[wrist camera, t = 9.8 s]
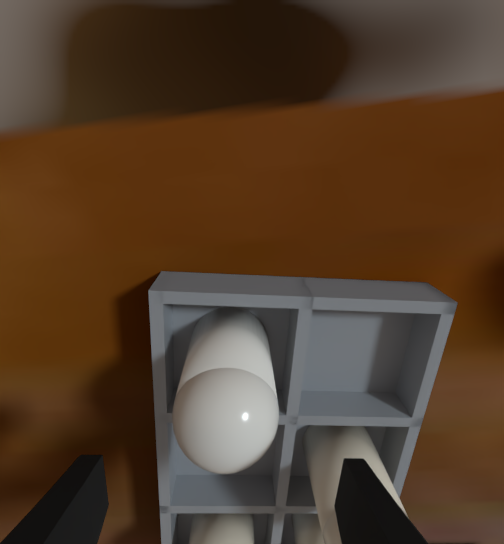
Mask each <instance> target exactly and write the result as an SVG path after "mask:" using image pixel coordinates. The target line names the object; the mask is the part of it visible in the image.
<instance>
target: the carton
mask: <svg viewBox="0 0 504 544" xmlns="http://www.w3.org/2000/svg"><path fill="white" fill-rule="evenodd" d="M148 294H149V313H150V333H151V352H152V371H153V390H154V410H155V429H156V448H157V467H158V487H159V506H160V525H161V544H189V539H190V531H191V524H192V516H193V513H253V524H254V544H295V539H294V532H293V525H292V518H291V516H292V514H318V513H317V508H316V504H315V499H314V495H313V490H312V486H311V481H310V477H309V472H308V468H307V463H306V459H305V454H304V450H303V444H302V440H303V436H304V433H305V431H306V430H307V428H308V427H309V426H310V425H331V426H365V427H366V429H367V431H368V433H369V435H370V438H371V440H372V442H373V444H374V446H375V448H376V450H377V452H378V455H379V457H380V459H381V461H382V463H383V465H384V467H385V469H386V471H387V474H388V476H389V478H390V480H391V482H392V484H393V486H394V488H395V491H396V493H397V495H398V497H399V498H400V494H401V491H402V488H403V484H404V481H405V477H406V474H407V471H408V467H409V464H410V461H411V457H412V454H413V451H414V447H415V444H416V441H417V437H418V434H419V431H420V427H421V424H422V421H423V417H424V414H425V411H426V407H427V404H428V400H429V397H430V394H431V390H432V387H433V384H434V380H435V377H436V374H437V370H438V367H439V364H440V360H441V357H442V354H443V350H444V347H445V344H446V340H447V337H448V334H449V330H450V327H451V323H452V320H453V317H454V313H455V310H456V307H457V302H456V301H454V300H453V299H451V298H450V297H448V296H447V295H445V294H444V293H442V292H441V291H439V290H438V289H436V288H434V287H433V286H431V285H430V284H428V283H423V282H400V281H377V280H353V279H330V278H307V277H283V276H260V275H237V274H213V273H190V272H167V271H161V273H160V274H159V276H158V277H157V279H156V280H155V282H154V283H153V284H152V286H151V287H150V289H149V290H148ZM223 307H237V308H241V309H244V310H247V311H249V312H251V313H252V314H254V315H255V316H256V317H258V318H259V319H260V321H261V322H262V323H263V325H264V327H265V329H266V332H267V336H268V342H269V349H270V355H271V361H272V368H273V374H274V380H275V387H276V393H277V399H278V406H279V422H278V428H277V432H276V435H275V438H274V440H273V442H272V444H271V446H270V448H269V449H268V450H267V452H266V453H265V454H264V456H263V457H262V458H261V459H260V460H258V461H257V462H256V463H255V464H253V465H252V466H250V467H249V468H247V469H245V470H242V471H239V472H236V473H232V474H216V473H212V472H208V471H206V470H203V469H201V468H199V467H198V466H196V465H195V464H194V463H192V462H191V461H190V460H189V459H188V458H187V457H186V456H185V454H184V453H183V451H182V450H181V448H180V447H179V445H178V443H177V440H176V438H175V434H174V430H173V423H172V412H173V405H174V401H175V397H176V393H177V390H178V386H179V382H180V378H181V375H182V371H183V367H184V364H185V360H186V356H187V352H188V349H189V345H190V341H191V338H192V334H193V331H194V328H195V326H196V324H197V323H198V321H199V320H200V319H201V318H202V317H203V316H204V315H206V314H207V313H209V312H211V311H213V310H215V309H219V308H223Z"/></svg>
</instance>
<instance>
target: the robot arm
mask: <svg viewBox="0 0 504 544" xmlns="http://www.w3.org/2000/svg"><path fill="white" fill-rule="evenodd" d="M108 505H109V503H108V495H107V487H106V479H105V471H104V463H103V455H81V456H79V457H78V458H77V459H76V460H75V462H74V463H73V464H72V465H71V466H70V467H69V468H68V469H67V471H66V472H65V473H64V474H63V475H62V476H61V477H60V479H59V480H58V481H57V482H56V483H55V484H54V485H53V487H52V488H51V489H50V490H49V491H48V492H47V493H46V494H45V495H44V497H43V498H42V499H41V500H40V501H39V502H38V503H37V504H36V505H35V506H34V508H33V509H32V510H31V511H30V512H29V513H28V514H27V515H26V516H25V517H24V518H23V519H22V520H21V521H20V523H19V524H18V525H17V526H16V527H15V528H14V529H13V530H12V531H11V532H10V533H9V534H8V535H7V536H6V538H5V539H4V540H3V541H2V542H1V543H0V544H97V542H98V539H99V536H100V532H101V529H102V526H103V522H104V519H105V515H106V512H107V509H108ZM334 507H335V512H336V518H337V523H338V528H339V533H340V538H341V543H342V544H428V543H427V541H426V540H425V539H424V538H423V536H422V535H421V534H420V532H419V531H418V530H417V529H416V527H415V526H414V525H413V524H412V522H411V521H410V520H409V519H408V517H407V516H406V515H405V513H404V512H403V511H402V509H401V508H400V507H399V505H398V504H397V503H396V501H395V500H394V499H393V497H392V496H391V495H390V493H389V492H388V491H387V489H386V488H385V487H384V485H383V484H382V483H381V481H380V480H379V478H378V477H377V476H376V474H375V473H374V472H373V470H372V469H371V467H370V466H369V465H368V463H367V462H366V461H365V460H364V458H344V460H343V465H342V470H341V475H340V480H339V485H338V490H337V494H336V499H335V504H334Z"/></svg>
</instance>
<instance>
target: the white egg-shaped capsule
mask: <svg viewBox="0 0 504 544" xmlns="http://www.w3.org/2000/svg"><path fill="white" fill-rule="evenodd" d="M278 422H279V406H278V399H277V393H276V387H275V380H274V374H273V368H272V361H271V355H270V349H269V342H268V336H267V332H266V329H265V327H264V325H263V323H262V322H261V321H260V319H259V318H258V317H256V316H255V315H254V314H252V313H251V312H249V311H247V310H244V309H241V308H237V307H223V308H219V309H215V310H213V311H211V312H209V313H207V314H206V315H204V316H203V317H202V318H201V319H200V320H199V321H198V323H197V324H196V326H195V328H194V331H193V334H192V338H191V341H190V345H189V349H188V352H187V356H186V360H185V364H184V367H183V371H182V375H181V378H180V382H179V386H178V390H177V393H176V397H175V401H174V405H173V412H172V423H173V430H174V434H175V438H176V440H177V443H178V445H179V447H180V448H181V450H182V451H183V453H184V454H185V456H186V457H187V458H188V459H189V460H190V461H191V462H192V463H194V464H195V465H196V466H198V467H199V468H201V469H203V470H206V471H208V472H212V473H216V474H232V473H236V472H239V471H242V470H245V469H247V468H249V467H250V466H252V465H253V464H255V463H256V462H257V461H258V460H260V459H261V458H262V457H263V456H264V454H265V453H266V452H267V450H268V449H269V448H270V446H271V444H272V442H273V440H274V438H275V435H276V432H277V428H278Z"/></svg>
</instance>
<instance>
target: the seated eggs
mask: <svg viewBox="0 0 504 544" xmlns="http://www.w3.org/2000/svg"><path fill="white" fill-rule="evenodd" d="M302 444H303V450H304V454H305V459H306V463H307V468H308V472H309V477H310V481H311V486H312V490H313V495H314V499H315V504H316V508H317V513H318V514H292V516H291V518H292V525H293V532H294V539H295V544H342V543H341V538H340V533H339V528H338V523H337V518H336V512H335V507H334V504H335V499H336V494H337V490H338V485H339V480H340V475H341V470H342V465H343V460H344V458H364V460H365V461H366V462H367V463H368V465H369V466H370V467H371V469H372V470H373V472H374V473H375V474H376V476H377V477H378V478H379V480H380V481H381V483H382V484H383V485H384V487H385V488H386V489H387V491H388V492H389V493H390V495H391V496H392V497H393V499H394V500H395V501H396V503H397V504H398V505H399V507H400V508H401V509H402V511H403V512H404V513H405V515H406V516H407V514H406V512H405V510H404V507H403V505H402V503H401V501H400V499H399V497H398V495H397V493H396V491H395V488H394V486H393V484H392V482H391V480H390V478H389V476H388V474H387V471H386V469H385V467H384V465H383V463H382V461H381V459H380V457H379V455H378V452H377V450H376V448H375V446H374V444H373V442H372V440H371V438H370V435H369V433H368V431H367V429H366V427H365V426H331V425H310V426H309V427H308V428H307V430H306V431H305V433H304V436H303V440H302ZM407 517H408V516H407ZM189 544H254V524H253V513H193V516H192V524H191V531H190V539H189Z"/></svg>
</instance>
